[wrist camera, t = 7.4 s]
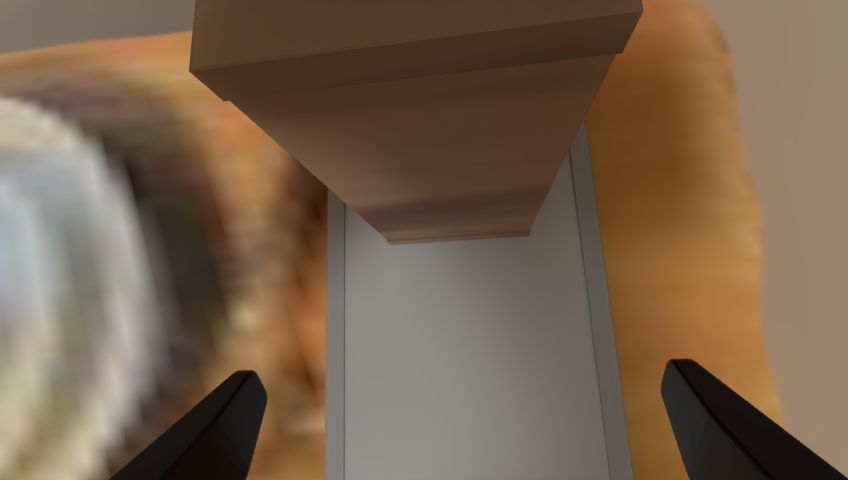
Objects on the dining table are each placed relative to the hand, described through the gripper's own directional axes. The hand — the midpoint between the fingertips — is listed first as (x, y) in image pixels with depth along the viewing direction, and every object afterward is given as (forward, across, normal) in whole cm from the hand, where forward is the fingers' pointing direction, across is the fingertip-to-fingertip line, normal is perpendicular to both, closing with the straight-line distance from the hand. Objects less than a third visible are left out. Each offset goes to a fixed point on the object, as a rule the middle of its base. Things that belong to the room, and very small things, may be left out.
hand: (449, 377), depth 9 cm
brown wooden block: (+11, 0, 0) cm, 11 cm away
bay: (+9, 0, +4) cm, 9 cm away
